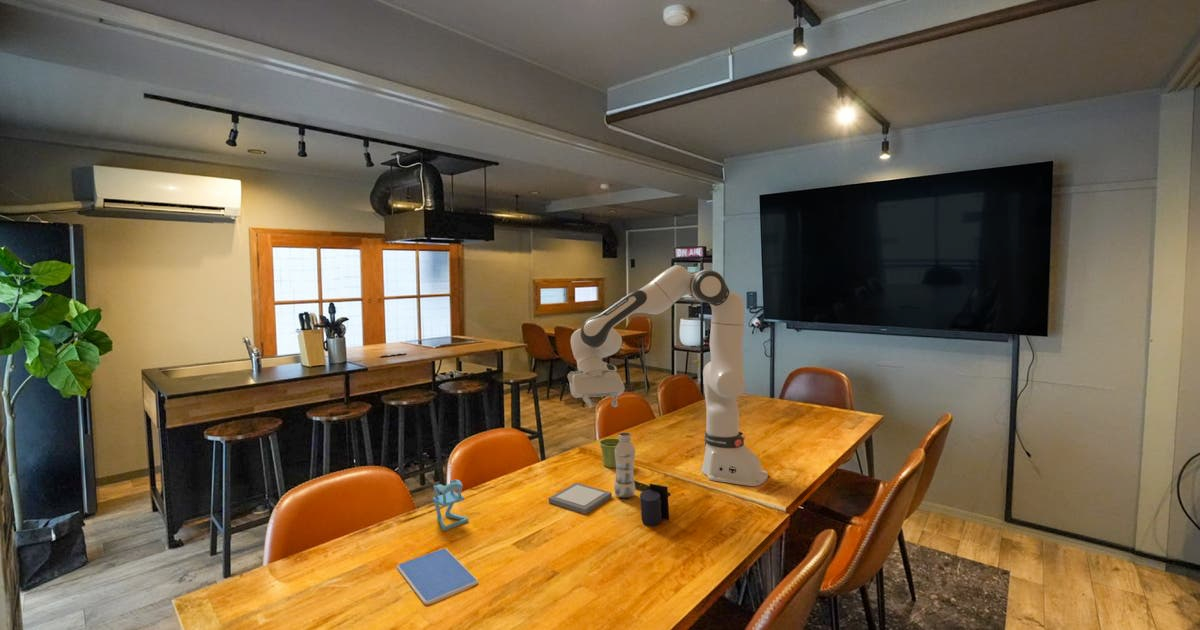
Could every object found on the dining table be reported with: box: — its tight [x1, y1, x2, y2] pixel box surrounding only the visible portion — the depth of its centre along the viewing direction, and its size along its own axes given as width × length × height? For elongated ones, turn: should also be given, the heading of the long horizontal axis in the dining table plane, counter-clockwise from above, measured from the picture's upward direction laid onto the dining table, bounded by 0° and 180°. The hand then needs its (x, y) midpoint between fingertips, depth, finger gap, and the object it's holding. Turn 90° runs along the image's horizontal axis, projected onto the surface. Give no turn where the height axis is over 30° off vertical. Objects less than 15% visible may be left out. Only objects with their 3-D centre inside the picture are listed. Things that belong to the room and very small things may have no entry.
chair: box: [432, 479, 469, 531], centre depth 146 cm, size 8×8×12 cm
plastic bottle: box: [613, 432, 636, 499], centre depth 162 cm, size 6×7×20 cm
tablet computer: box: [396, 548, 479, 606], centre depth 120 cm, size 19×13×1 cm, turn 39°
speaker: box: [639, 483, 670, 527], centre depth 145 cm, size 8×6×10 cm
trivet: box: [548, 482, 613, 515], centre depth 160 cm, size 14×14×2 cm
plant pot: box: [598, 437, 619, 469], centre depth 189 cm, size 9×9×9 cm
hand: (604, 406), depth 171 cm, fingers open, 8 cm apart
